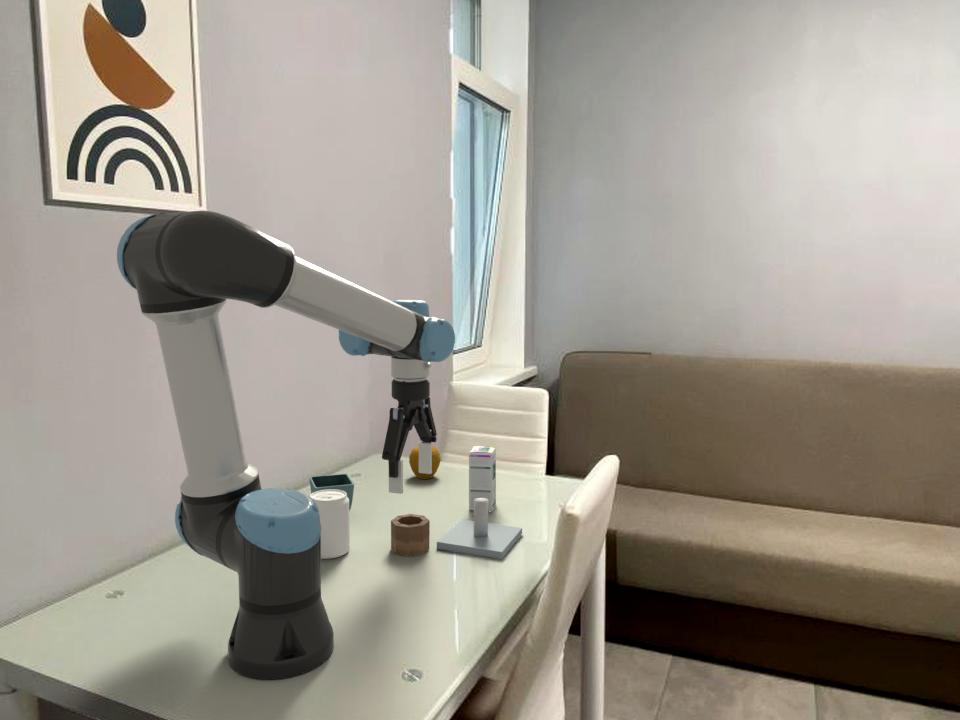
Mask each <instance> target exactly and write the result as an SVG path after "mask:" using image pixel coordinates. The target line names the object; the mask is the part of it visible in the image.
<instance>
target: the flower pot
mask: <svg viewBox="0 0 960 720" xmlns="http://www.w3.org/2000/svg"><path fill="white" fill-rule="evenodd" d="M309 485H310V495H311V494H312V493H313V492H316V491H320V490H326V489H336V490H342V491H344V492H346V494H347V497H348V499H349V512H351V509H352V504H353V499H354V492H355V491H354V490H355V483H354V482H353V480H352V479H351V477H350V475H349V474H348V473H337V474H328V475H315V476H314V475H313V476H309Z"/></svg>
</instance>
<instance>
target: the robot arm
mask: <svg viewBox="0 0 960 720" xmlns="http://www.w3.org/2000/svg"><path fill="white" fill-rule="evenodd" d="M116 262H117V266H118V269H119V272H120V274H121V276H122V277H123V279H124V280H125V281H126V283H127V284H128V285H130V287H131V288H133V289H134V290H136V294H137V297H138V302H139V306H140V311H141V314H142V316H144V317H146V318H147V319H149V320H151V321H152V322H154V324H155V325H156V330H157V331H156V332H157V334H158V335H157V336H158V340H159V344H160V349H161V354H162V357H163V363H164V368H165V371H166V377H167V382H168V386H169V392H170V396H171V401H172V404H173V405H172V406H173V410H174V414H175V415H174V416H175V419H176V420H175V421H176V424H177V429H178V433H179V437H180V442H181V446H182V447H181V448H182V453H183V457H184V461H185V466H186V470H187V476H186V477H185V479H184V480H183V481H182V482H181V484H180V485H179V490H180V495H181V496H180V501H179V503H178V504H176V507H175V512H174V513H175V514H174V523H175V527H176V528H175V529H176V530H177V534H178V535H179V537H180V538H181V540H182V542H183V543H185V545H187V546H188V547H189V548H190V549H192V551H194V553H196V554H197V555H200V556H202V557H205V558H208V559H210V560H212V561H213V562H216V563H218V564H219V565H222V566H224V567H225V568H228V569H229V570H232V571H233V572H235V573H237V576H238V599H239V600H238V601H239V605H238V609H237V612H236V617H235V619H234V623H233V626H232V630H231V632H230V635H229V639H228V643H227V655H228V656H227V657H228V658H227V659H228V664H229V666H230V668H231V669H232V670H234V672H237V673H238V674H240V675H242V676H245V677H247V678H253V679H257V680H278V679H286V678H287V679H288V678H291V677H295V676H299V675H301V674H304V673H307V672H309V671H312V670H314V669H316V668H317V667H319V666H321V665H322V664H323V663H324V662H326V661H327V660H328V658H329V657H330V656H331V655H332V653H333V651H334V648H335V645H334V644H335V641H334V640H335V639H334V628H333V626H332V624H331V622H330V619H329V616H328V613H327V610H326V607H325V604H324V601H323V599H322V581H321V580H322V574H321V573H322V565H321V564H322V563H321V562H322V559H321V523H320V516H319V509H318V506H317V504H316V503H315V501H314V500H313V499H312V498H310V495H307V494H306V493H303V492H301V491H298V490H295V489H283V488H279V487H278V488H277V487H273V488H263V489H262V486H261V480H260V475H259V471H258V468H257V467H256V466H255V465H253V464H251V463H249V462H247V461H246V456H245V455H246V454H245V451H244V445H243V440H242V435H241V429H240V424H239V419H238V413H237V408H236V404H235V403H236V401H235V397H234V393H233V387H232V381H231V377H230V370H229V365H228V360H227V354H226V349H225V344H224V340H223V334H222V330H221V323H220V319H219V318H220V317H219V313H220V311H221V310H222V309H223V307H224V306H225V304H226V303H227V300H233V301H238V302H242V303H243V302H244V303H247V304H251V305H253V306H255V307H259V308H261V309H269V308H271V307H273V306H276V307H279V308H281V309H284V310H286V311H289V312H292V313H294V314H297V315H300V316H302V317H305V318H307V319H310V320H313V321H315V322H318V323H320V324H323V325H326V326H328V327H331V328H334V329H336V330H338V342H339V343H340V347H341V349H342V350H343V352H345V353H346V354H348V355H350V356H362V357H365V356H366V355H378V356H386V357H390V360H391V361H390V366H391V367H390V368H391V369H390V374H391V375H390V376H391V377H392V378H393V379H392V380H391V397H392V398H393V399H394V400H396V401H397V402H398V403H397V404H398V405H397V408H396V407H391V408H390V409H389V418H388V419H389V420H388V424H387V430H386V433H385V434H386V435H385V438H384V444H383V449H382V455H381V459H382V460H386V461H387V462H388V493H391V494H393V493H394V494H399V495H402V494H403V493H404V459H402V454H403V452H404V448H405V447H406V446H405V445H406V443H407V439H408V435H409V433H410V431H412V430H413V428H414V429H415V431H416V433H417V435H418V437H419V440H420V441H419V442H418V446H419V473H425V474H431V473H432V446H433V443H436V442H437V436H438V434H437V429H436V425H435V420H434V417H433V416H434V415H433V412H432V408H431V398H430V386H431V385H430V384H431V383H430V380H429V379H428V378H429V376H430V368H431V367H432V364H431V363H432V362H434V363H441V362H443V361H446V360H447V359H448V358H450V356H451V355H452V353H453V351H454V347H455V344H456V334H455V329H454V327H453V326H452V324H451V322H449V321H448V320H446V319H443V318H438V317H437V316H432V317H430V307H429V304H428V303H427V302H426V301H425V300H419V299H417V300H416V299H398V300H397V299H395V300H393V301H391V300H389V299H387V298H385V297H383V296H381V295H379V294H376V293H374V292H372V291H371V290H369V289H366V288H364V287H362V286H360V285H357V284H355V283H353V282H352V281H349V280H348V279H345V278H344V277H343V278H342V277H340V276H338V275H336V274H334V273H332V272H330V271H327V269H326V270H325V269H323V268H322V267H320V266H317V265H316V264H313V263H311V262H309V261H306V260H304V259H302V258H300V257H298V256H296V254H295V250H294V249H293V247H291V245H289V244H287V243H286V242H283V241H282V240H279V239H277V238H275V237H274V236H271V235H269V234H267V233H265V232H263V231H261V230H259V229H257V228H255V227H253V226H250V225H249V224H247V223H244V222H242V221H240V220H238V219H235V218H233V217H232V216H228V215H226V214H223V213H219V212H215V211H211V210H191V211H181V212H178V211H177V212H159V213H153V214H150V215H148V216H144V217H142V218H139V219H137V220H136V221H135V222H133V223H132V224H130V225H129V226H128V227H127V229H126V230H125V231H124V233H123V234H122V235H121V237H120V240H119V242H118V245H117V249H116ZM430 362H431V363H430ZM418 446H417V447H418Z"/></svg>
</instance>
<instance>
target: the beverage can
mask: <svg viewBox="0 0 960 720" xmlns="http://www.w3.org/2000/svg"><path fill="white" fill-rule="evenodd" d="M309 497H310V498H312V499H313V500H314V501H315V503H316V504H317V506H318V509H319V516H320V523H321V560H322V559H323V560H328V559H329V560H331V559H332V560H333V559H337V558H340V557H342V556H343V555H345V554H347V553H348V552H350V548H351V546H350V539H351V538H350V511H349V499H348V497H347V494H346V492H344V491H342V490H336V489H326V490H320V491H316V492H313V493H312V494H311V493H310V495H309Z"/></svg>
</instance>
